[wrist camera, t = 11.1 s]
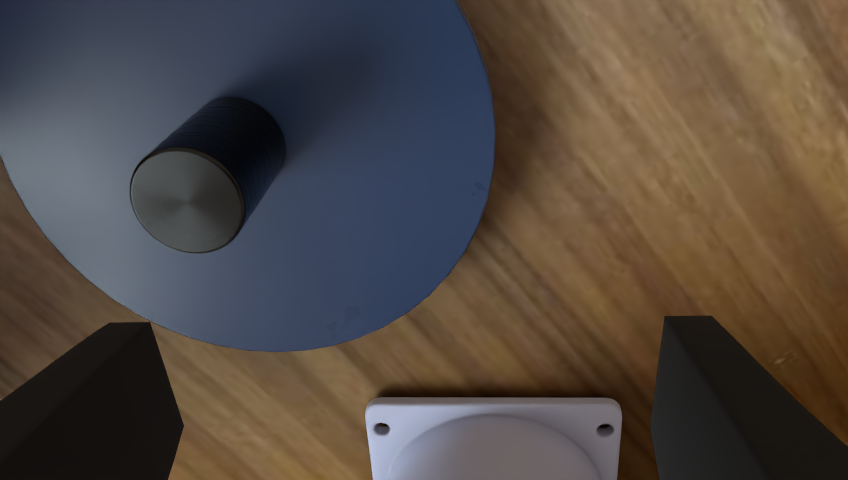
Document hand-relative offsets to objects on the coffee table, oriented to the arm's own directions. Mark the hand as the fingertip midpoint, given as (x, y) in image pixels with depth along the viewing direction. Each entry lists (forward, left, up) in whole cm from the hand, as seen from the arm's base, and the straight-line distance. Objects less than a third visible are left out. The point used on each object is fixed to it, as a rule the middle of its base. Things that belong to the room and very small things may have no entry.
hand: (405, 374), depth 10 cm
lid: (+1, +5, -9) cm, 10 cm away
